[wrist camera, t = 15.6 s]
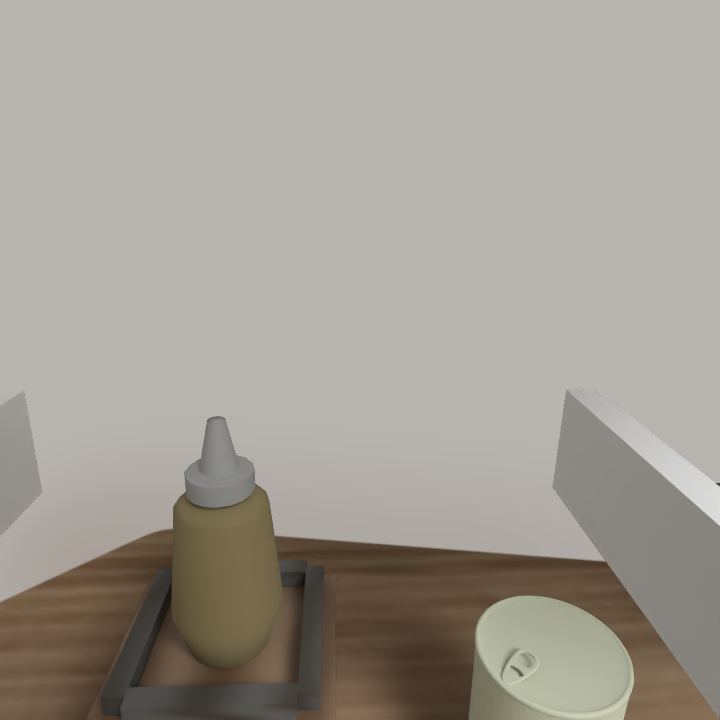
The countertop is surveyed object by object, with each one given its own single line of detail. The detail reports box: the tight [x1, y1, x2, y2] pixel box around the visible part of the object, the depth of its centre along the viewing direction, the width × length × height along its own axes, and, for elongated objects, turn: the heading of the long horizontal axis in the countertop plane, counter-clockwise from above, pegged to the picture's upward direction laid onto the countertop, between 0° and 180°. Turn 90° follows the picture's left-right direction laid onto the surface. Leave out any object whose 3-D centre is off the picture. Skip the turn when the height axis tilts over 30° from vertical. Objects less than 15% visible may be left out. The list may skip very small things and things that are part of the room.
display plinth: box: [86, 561, 336, 720], centre depth 43 cm, size 16×14×6 cm
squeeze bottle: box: [172, 416, 283, 668], centre depth 39 cm, size 8×8×18 cm
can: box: [468, 596, 634, 720], centre depth 35 cm, size 9×9×12 cm
